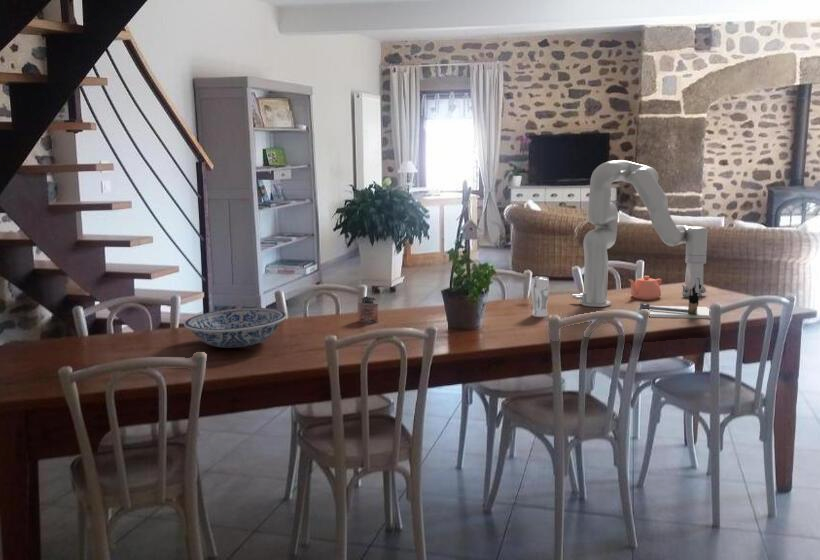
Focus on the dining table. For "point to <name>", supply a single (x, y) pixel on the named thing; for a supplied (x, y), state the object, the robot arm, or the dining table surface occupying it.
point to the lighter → (368, 310)
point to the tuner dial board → (701, 312)
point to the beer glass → (540, 296)
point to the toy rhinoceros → (687, 292)
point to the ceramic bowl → (235, 326)
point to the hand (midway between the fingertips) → (693, 305)
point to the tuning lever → (691, 308)
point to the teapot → (646, 288)
